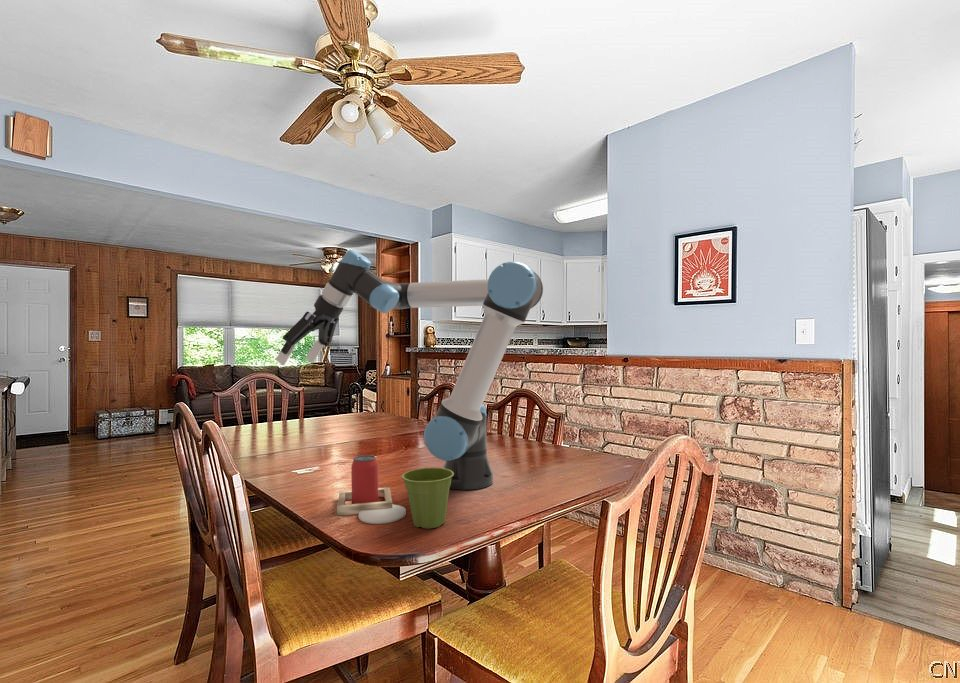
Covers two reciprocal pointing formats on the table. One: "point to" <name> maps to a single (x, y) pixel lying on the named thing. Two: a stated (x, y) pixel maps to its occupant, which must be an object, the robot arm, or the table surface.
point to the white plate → (382, 515)
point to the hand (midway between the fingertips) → (295, 361)
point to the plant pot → (428, 495)
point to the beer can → (364, 479)
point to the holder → (356, 508)
